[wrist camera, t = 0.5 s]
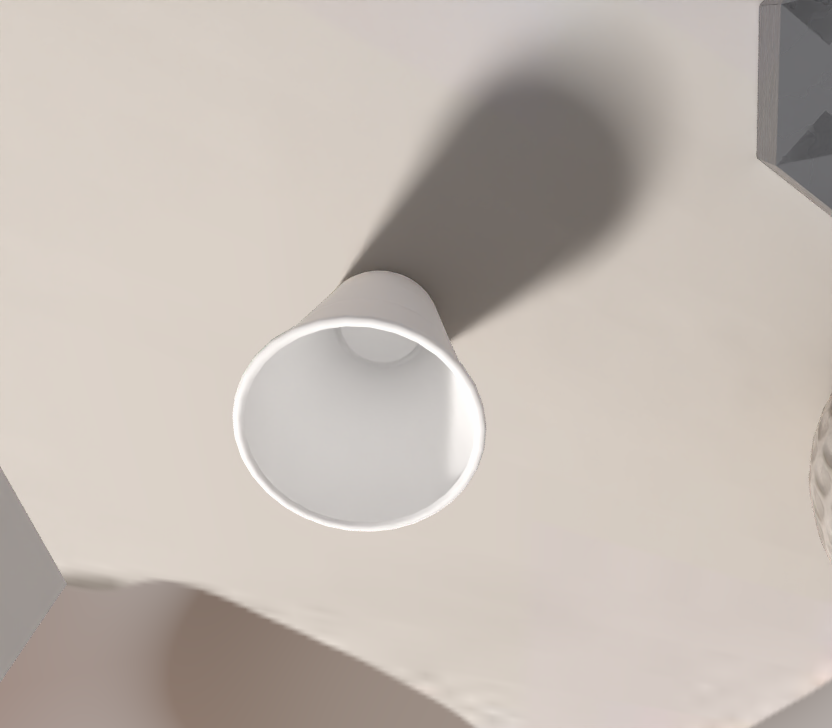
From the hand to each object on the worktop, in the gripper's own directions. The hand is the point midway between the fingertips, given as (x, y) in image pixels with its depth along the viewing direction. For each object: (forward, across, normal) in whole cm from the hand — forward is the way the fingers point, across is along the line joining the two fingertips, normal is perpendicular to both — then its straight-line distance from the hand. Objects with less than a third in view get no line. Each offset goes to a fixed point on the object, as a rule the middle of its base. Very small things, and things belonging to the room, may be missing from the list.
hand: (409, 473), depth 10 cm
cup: (+24, -4, -7) cm, 26 cm away
